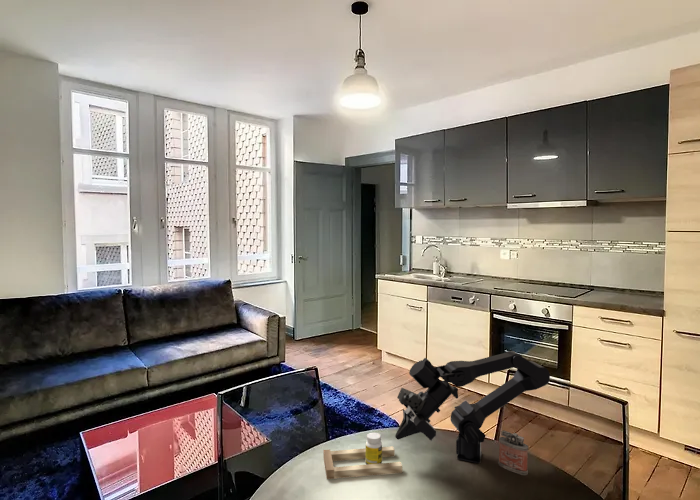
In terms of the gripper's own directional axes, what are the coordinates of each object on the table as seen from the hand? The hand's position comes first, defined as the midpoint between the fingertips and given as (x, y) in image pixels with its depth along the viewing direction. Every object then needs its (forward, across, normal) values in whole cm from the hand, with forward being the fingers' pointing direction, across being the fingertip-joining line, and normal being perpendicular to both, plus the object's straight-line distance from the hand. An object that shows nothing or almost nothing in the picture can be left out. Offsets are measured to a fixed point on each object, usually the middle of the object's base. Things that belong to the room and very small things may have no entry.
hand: (396, 438), depth 119 cm
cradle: (+12, 0, -2) cm, 12 cm away
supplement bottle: (+10, 0, +1) cm, 10 cm away
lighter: (-17, +8, +28) cm, 34 cm away
